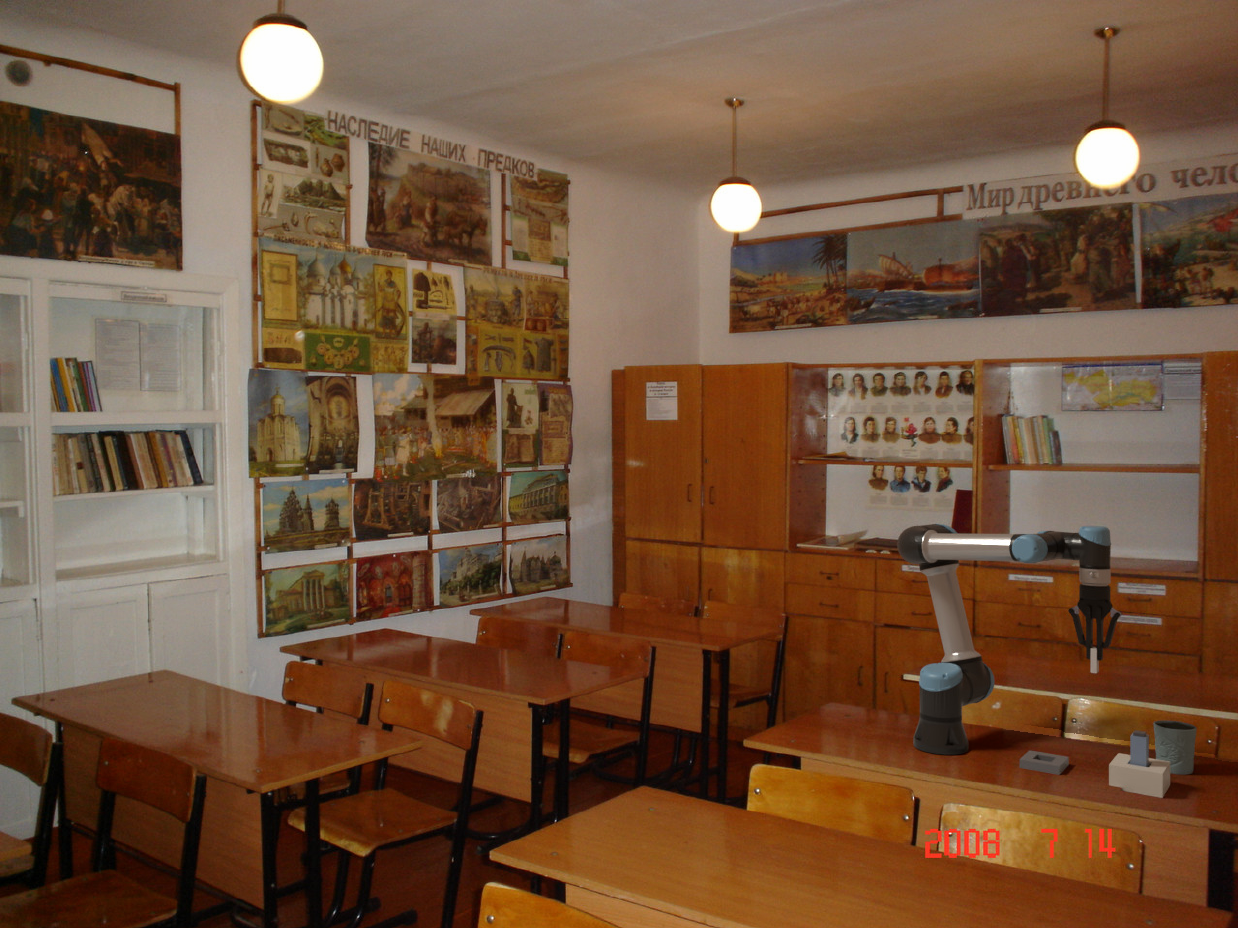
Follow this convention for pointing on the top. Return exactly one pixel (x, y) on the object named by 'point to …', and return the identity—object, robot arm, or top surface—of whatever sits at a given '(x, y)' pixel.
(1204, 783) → the top surface
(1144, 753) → the plug
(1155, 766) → the port
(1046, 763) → the grey square socket block
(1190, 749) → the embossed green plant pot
